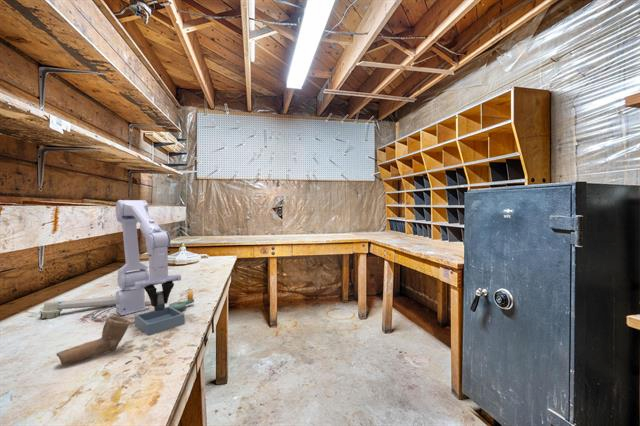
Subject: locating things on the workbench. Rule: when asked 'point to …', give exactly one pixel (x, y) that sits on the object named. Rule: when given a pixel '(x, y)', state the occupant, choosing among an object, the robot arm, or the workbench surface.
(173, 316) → the tray
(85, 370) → the workbench surface
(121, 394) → the workbench surface
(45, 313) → the grey long piece
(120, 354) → the workbench surface
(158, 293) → the pin
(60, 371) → the workbench surface
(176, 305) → the crank
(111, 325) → the pipe
